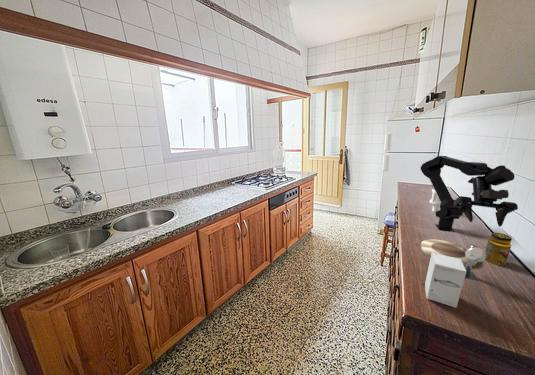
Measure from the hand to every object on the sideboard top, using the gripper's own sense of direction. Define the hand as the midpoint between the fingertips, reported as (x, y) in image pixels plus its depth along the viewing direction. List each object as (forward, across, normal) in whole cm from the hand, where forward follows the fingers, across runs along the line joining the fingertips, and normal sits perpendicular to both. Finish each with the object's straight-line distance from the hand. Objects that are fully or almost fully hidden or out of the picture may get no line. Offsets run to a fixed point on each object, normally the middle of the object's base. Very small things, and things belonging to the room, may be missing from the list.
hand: (485, 224), depth 88 cm
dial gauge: (+23, -11, -7) cm, 26 cm away
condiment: (+15, +2, +3) cm, 15 cm away
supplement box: (+34, -23, -19) cm, 45 cm away
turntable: (+14, -12, +2) cm, 19 cm away
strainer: (-21, 0, +48) cm, 53 cm away
